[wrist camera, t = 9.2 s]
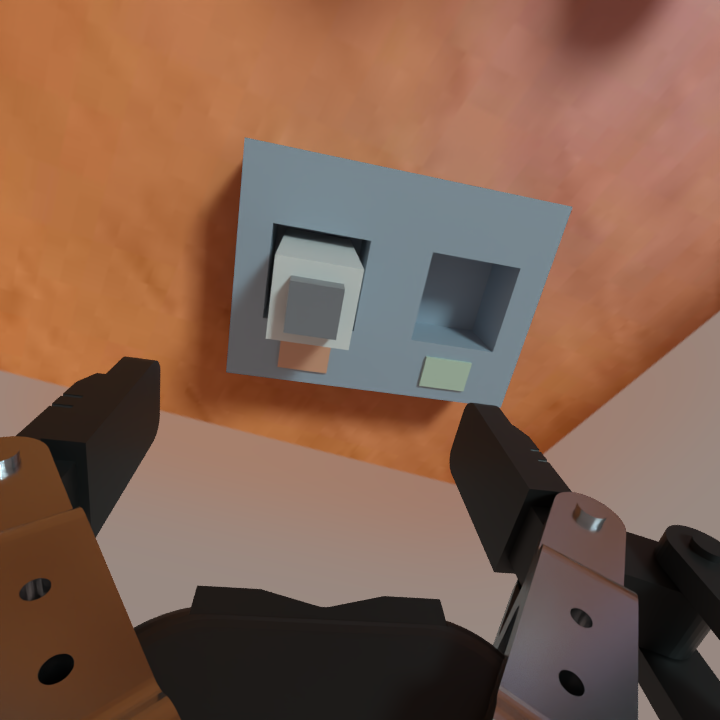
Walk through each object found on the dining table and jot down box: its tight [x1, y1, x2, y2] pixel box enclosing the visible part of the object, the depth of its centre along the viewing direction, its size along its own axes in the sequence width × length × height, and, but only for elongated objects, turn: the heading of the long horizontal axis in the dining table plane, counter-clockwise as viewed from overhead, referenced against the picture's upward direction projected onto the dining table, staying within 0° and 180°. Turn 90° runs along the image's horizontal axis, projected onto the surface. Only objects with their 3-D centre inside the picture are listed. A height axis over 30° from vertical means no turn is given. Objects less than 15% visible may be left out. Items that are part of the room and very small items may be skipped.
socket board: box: [226, 138, 572, 407], centre depth 28 cm, size 18×13×5 cm
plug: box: [266, 228, 364, 350], centre depth 24 cm, size 4×4×10 cm
